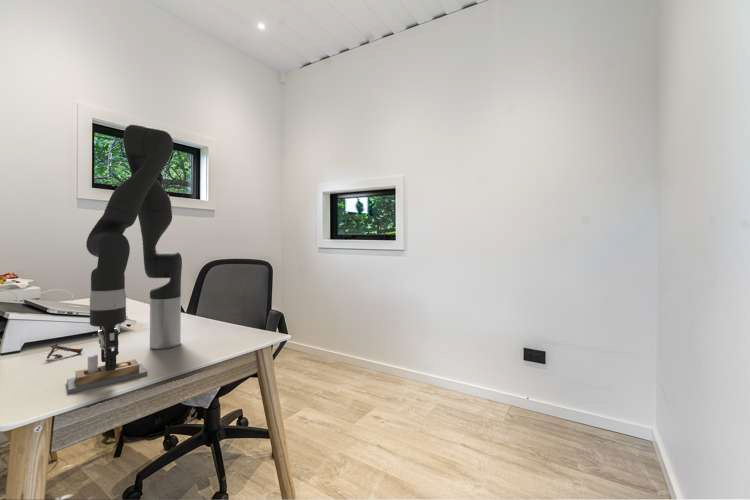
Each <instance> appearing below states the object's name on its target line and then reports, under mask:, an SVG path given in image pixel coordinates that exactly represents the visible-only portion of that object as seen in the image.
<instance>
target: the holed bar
mask: <svg viewBox="0 0 750 500" xmlns="http://www.w3.org/2000/svg"><path fill="white" fill-rule="evenodd" d="M125 363H127V364H128V366H125V367H120V368H119V365H120V364H125ZM139 364H140V363H139V362H138V361H137V359H135V358H134V359H130V360H125V361H119V362H116V369H115V370H112V371H106V370H105V364H104V365H100V366H99V365H98V372H96V373H92V374H88V368H86V369H85V368H84V369H79V370H76V371H75V377H76V384H77V386H79V385H83V384H88V383H92V382H97V381H101V380H105V379H110V378H114V377H119V376H123V375H127V374H132V373H136V372H139Z"/></svg>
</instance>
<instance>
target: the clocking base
mask: <svg viewBox="0 0 750 500" xmlns="http://www.w3.org/2000/svg"><path fill="white" fill-rule="evenodd" d="M98 359H99V355H98V354H91V355H89V356H87V369H88V374H92V373H96V372H98V367H99V360H98ZM138 364H139V372H136V373H132V374H127V375H123V376H119V377H114V378H110V379H105V380H101V381H97V382H92V383H88V384H83V385H79V386H77V384H76V376H75V377H71V378H66V384H67V392H68V394H74V393H77V392H82V391H85V390H90V389H93V388H98V387H102V386H107V385H111V384H115V383H116V384H117V383H119V382H124V381H128V380H132V379H136V378H142V377H145V376H148V370H147V369H146V368H145V367H144V365H143V364H142V363H138ZM125 366H128V364H127V363H125V364H120V365H119V368H120V367H125Z"/></svg>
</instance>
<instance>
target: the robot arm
mask: <svg viewBox="0 0 750 500" xmlns="http://www.w3.org/2000/svg"><path fill="white" fill-rule="evenodd" d="M122 139H123V148H124V152H125V157H126V159H127V164H128V167H129V170H130V177H128V178H127V179H125V180H124V181H122V182H120V184H119V185H118V186H117V187H116V188H115V189H114V191H113V192H112V194H111V196H110V198H109V200H108V202H107V204H106V207H105V209H104V212H103V214H102V216H101V217H100V218H99V220H97V222H96V223H95V225H94V226H93V228H92V229H91V231H90V233H89V234H88V235H87V239H86V242H85V243H86V244H85V245H86V249H87V251H88V252H89V254H90V255H92V256H93V257H97V265H96V268H94V269H93V270H92V271H91V274H90V296H89V325H90V326H92V327H96V328H97V327H98V328H99V330H97V334H98V344H99V348H100V360H101V362H102V363H105V364H104V365H105V370H106V371H112V370H115V369H116V363H117V356H118V355H119V353H120V352H119V334H120V331H119V329H118V328H117V327H116V326H117V325H120V324H123V323H125V322H126V320H127V295H126V289H125V288H126V287H125V286H126V285H125V282H126V279H125V278H126V275H125V272H126V270H127V265H128V262H129V257H130V252H131V247H130V243H129V240H128V238H127V237H126V236H125V235H124V233H125V231H126V230H127V229H128V228H130V227H132V226H133V225H134V223H136V220H137V219H138V221H139V226H140V235H141V238H142V239H141V240H142V241H141V242H142V253H143V255H142V256H143V265H144V266H143V267H144V273H145V274H146V277H148V278H149V279H169V281H168V282H167V283H165V284H163V285H160V286H158V287H155V288H153V289H151V290H150V292H149V348H150V349H152V350H153V349H154V350H163V349H169V348H174V347H178V346H179V345H180V344H181V338H182V337H181V332H182V331H181V330H182V326H181V324H182V322H181V321H182V319H181V318H182V315H181V314H182V313H181V312H182V311H181V310H182V309H181V307H182V304H181V300H182V298H181V297H182V293H181V292H182V269H183V258H182V255H181V254H180V252H177V251H157V250H156V247H157V244H158V242H159V240H160V238H161V237H162V236H163V234H164V233H165V232H166V231H167V229H168V228H169V226H170V225H171V224H172V223H171V222H172V220H173V210H172V209H173V208H172V202H171V198H170V196H169V195H168V193H167V191H166V190H165V188H164V187H163V186H162V184H161V183H160V181H159V180H158V178H159V176H160V174H161V173H162V171H163V170H164V168H165V167H166V165H167V163H168V162H169V161H170V159H171V156H172V155H173V151H174V141H173V138H172V136H171V134H170V133H168V131H165V130H164V129H160V128H154V127H149V126H144V125H142V124H141V125H140V124H134V123H133V124H128V125H127V126H126V127H125V129H124V131H123V138H122ZM112 349H113V350H112Z"/></svg>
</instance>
